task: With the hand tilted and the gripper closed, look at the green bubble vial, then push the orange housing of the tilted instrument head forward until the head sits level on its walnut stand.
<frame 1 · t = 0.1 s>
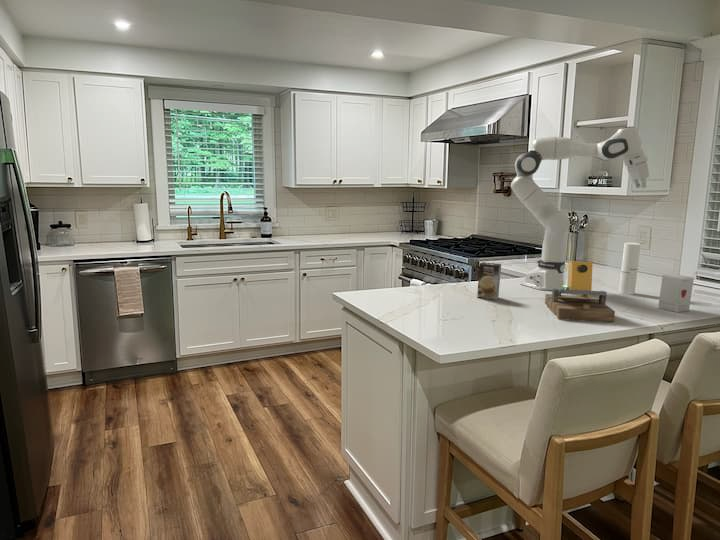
hand: (641, 187, 256), 52 cm above the countertop, tool tilted 20°, fingers open, 8 cm apart
coffee box: (487, 298, 247), on the countertop
instrument head: (579, 277, 223), point 15 cm above the countertop, hinge at -12.0°
supplement box: (673, 309, 234), on the countertop
cylindrical container: (626, 293, 265), on the countertop
tribrach stand: (577, 312, 224), on the countertop
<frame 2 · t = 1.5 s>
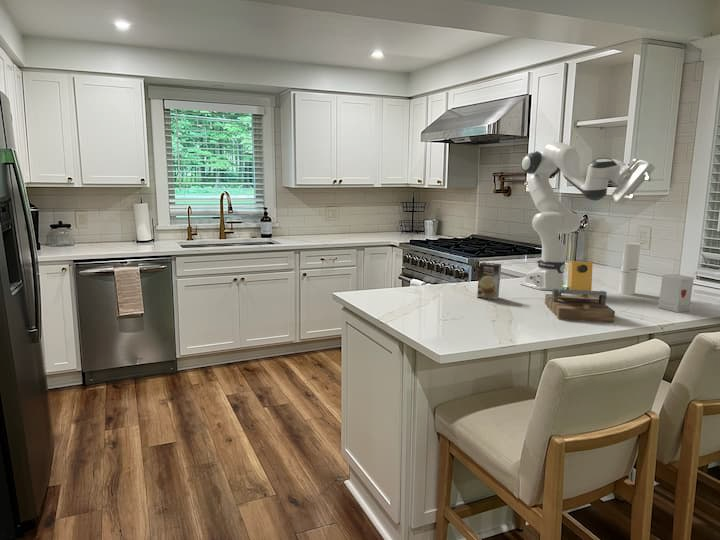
hand: (641, 189, 222), 52 cm above the countertop, tool tilted 70°, fingers open, 8 cm apart
nothing on the countertop moved.
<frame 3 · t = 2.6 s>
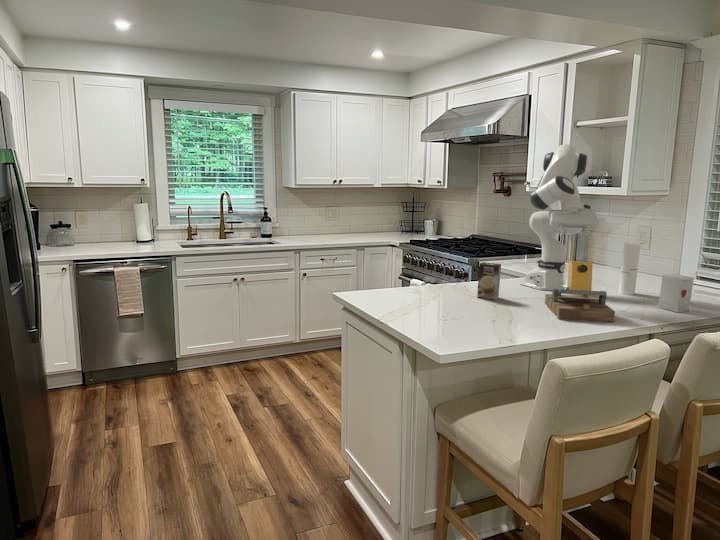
hand: (575, 234, 234), 32 cm above the countertop, tool tilted 45°, fingers open, 8 cm apart
nothing on the countertop moved.
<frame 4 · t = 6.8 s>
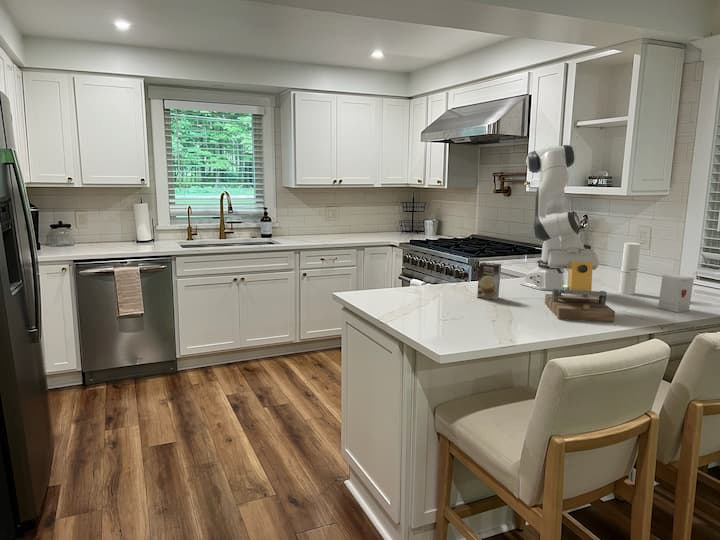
hand: (574, 275, 227), 15 cm above the countertop, tool tilted 45°, fingers closed, pressing on instrument head
instrument head: (579, 277, 223), point 15 cm above the countertop, hinge at -11.1°, touching gripper
everything else where it was.
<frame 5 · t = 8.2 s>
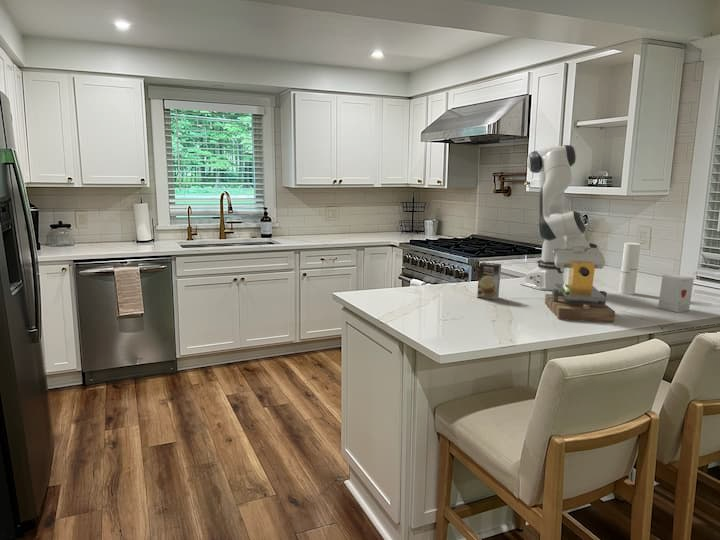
hand: (581, 275, 225), 15 cm above the countertop, tool tilted 45°, fingers closed
instrument head: (580, 278, 221), point 15 cm above the countertop, hinge at 3.6°
everything else where it was.
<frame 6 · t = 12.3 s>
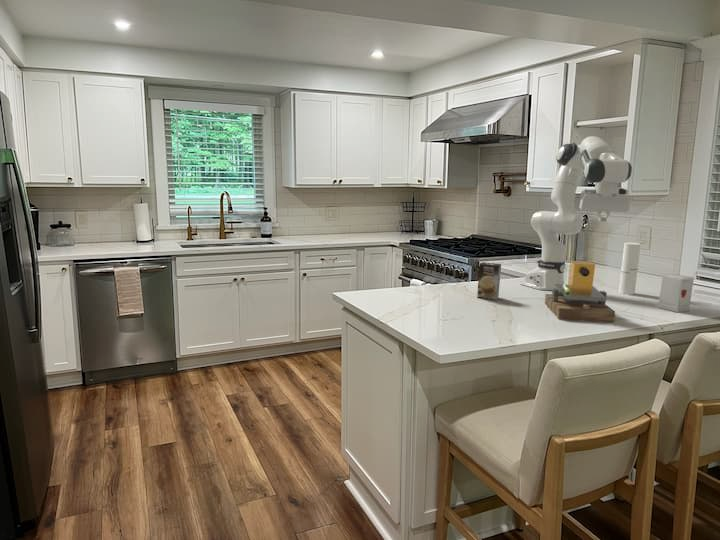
hand: (602, 221, 236), 37 cm above the countertop, tool pointing down, fingers closed
nothing on the countertop moved.
at the end: instrument head at +4° (first picture: -12°) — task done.
